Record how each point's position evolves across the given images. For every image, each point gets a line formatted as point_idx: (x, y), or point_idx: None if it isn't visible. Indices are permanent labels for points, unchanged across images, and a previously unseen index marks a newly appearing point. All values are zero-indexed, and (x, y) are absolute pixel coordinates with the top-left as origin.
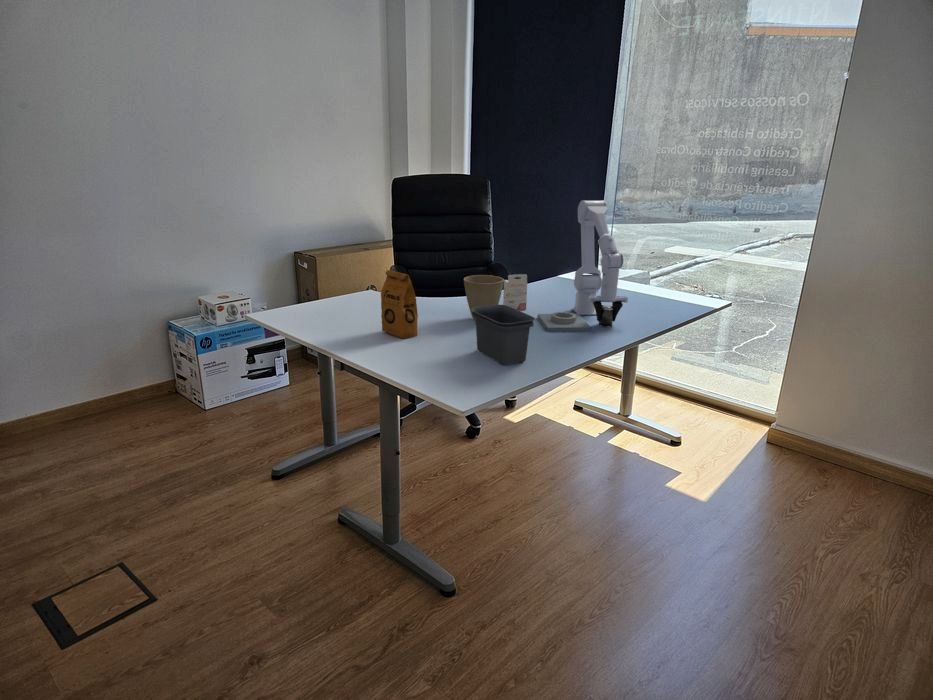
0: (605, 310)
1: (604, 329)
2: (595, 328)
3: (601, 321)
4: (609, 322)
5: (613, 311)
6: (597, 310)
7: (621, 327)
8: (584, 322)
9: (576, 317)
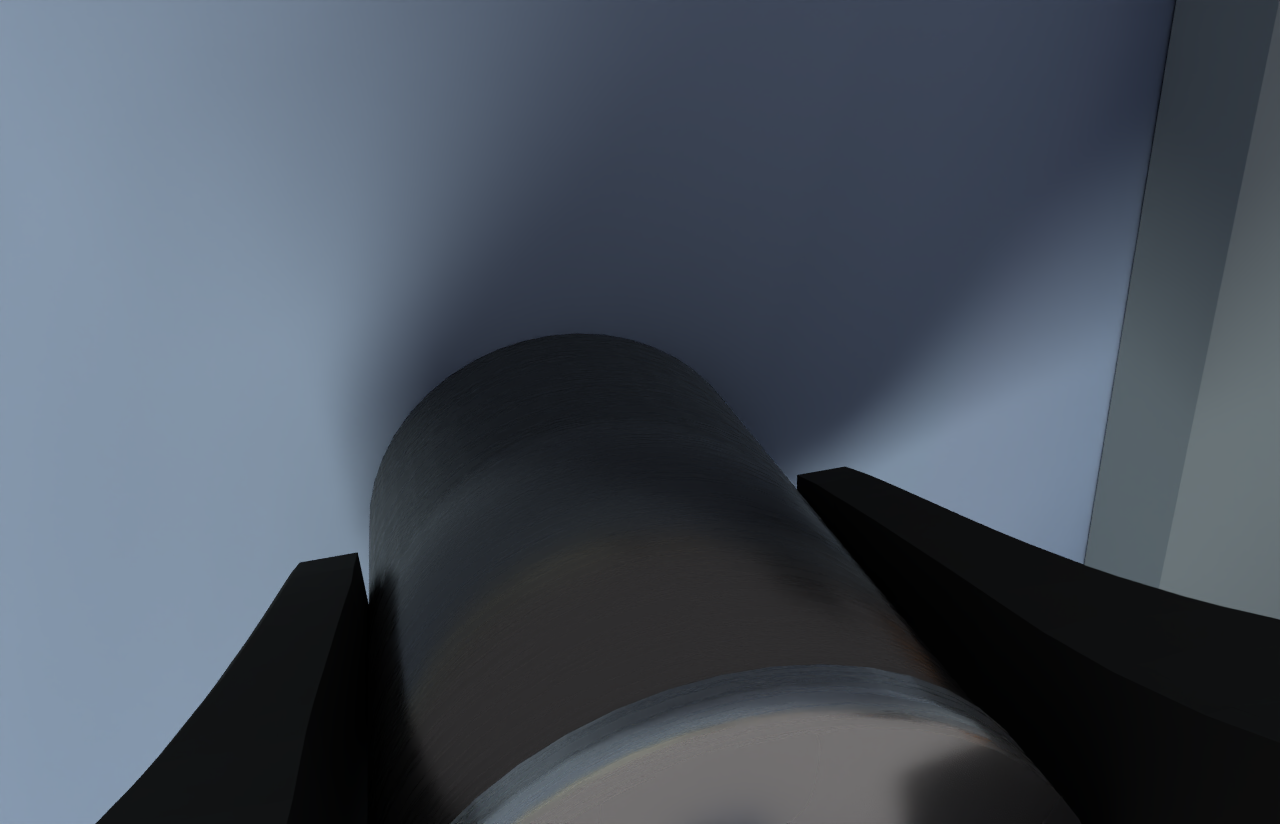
0: (899, 662)
1: (715, 31)
2: (954, 126)
3: (769, 456)
4: (514, 406)
5: (392, 811)
6: (1241, 622)
7: (61, 324)
8: (1258, 330)
9: None
